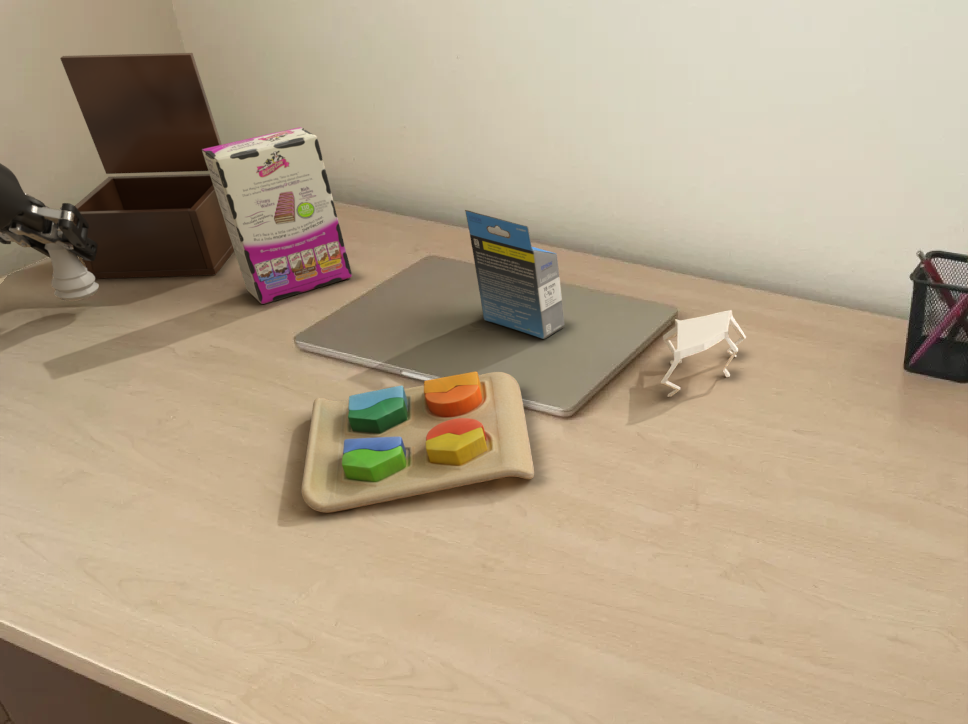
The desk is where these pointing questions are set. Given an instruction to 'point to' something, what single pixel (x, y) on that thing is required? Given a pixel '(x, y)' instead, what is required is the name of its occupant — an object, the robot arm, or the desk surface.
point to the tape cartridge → (515, 277)
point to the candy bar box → (279, 213)
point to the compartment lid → (144, 110)
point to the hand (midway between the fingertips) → (75, 251)
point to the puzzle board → (415, 441)
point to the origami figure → (700, 339)
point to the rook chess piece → (70, 274)
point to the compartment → (156, 227)
